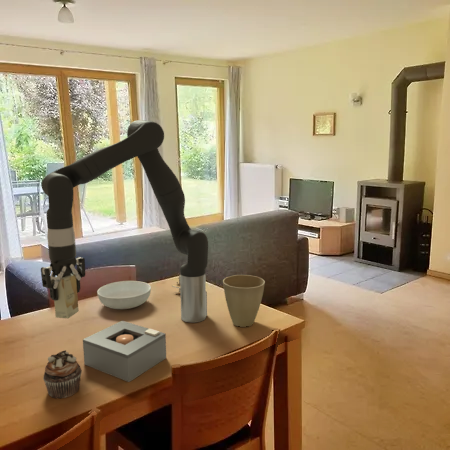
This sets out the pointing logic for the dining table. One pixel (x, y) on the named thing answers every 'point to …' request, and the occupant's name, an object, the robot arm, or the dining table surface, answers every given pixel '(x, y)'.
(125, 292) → the serving bowl
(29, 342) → the dining table surface
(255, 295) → the plant pot
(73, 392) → the cupcake
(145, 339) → the grey square box
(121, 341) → the button
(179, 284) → the architectural model
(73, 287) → the skincare box
